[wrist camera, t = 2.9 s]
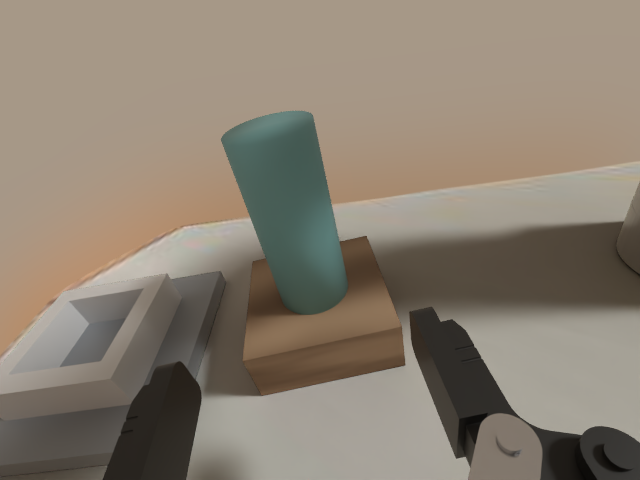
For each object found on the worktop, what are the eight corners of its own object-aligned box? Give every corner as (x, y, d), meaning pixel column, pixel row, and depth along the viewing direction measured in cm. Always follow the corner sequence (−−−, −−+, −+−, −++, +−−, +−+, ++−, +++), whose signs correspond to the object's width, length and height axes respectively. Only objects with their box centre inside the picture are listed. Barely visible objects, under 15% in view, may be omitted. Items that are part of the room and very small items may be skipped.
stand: (266, 294, 31) (252, 261, 29) (371, 270, 31) (366, 235, 29) (261, 395, 23) (242, 361, 21) (405, 365, 23) (401, 326, 20)
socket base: (82, 306, 36) (54, 274, 33) (225, 282, 34) (208, 247, 31) (-52, 482, 22) (-116, 453, 20) (171, 457, 21) (133, 422, 18)
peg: (306, 260, 28) (263, 111, 21) (360, 275, 25) (331, 109, 18) (267, 301, 24) (202, 144, 18) (323, 324, 22) (271, 147, 15)
